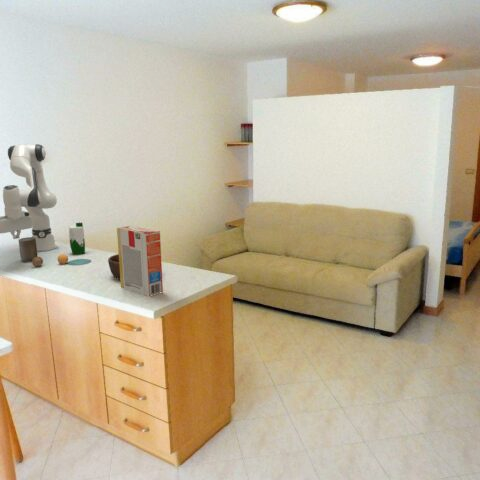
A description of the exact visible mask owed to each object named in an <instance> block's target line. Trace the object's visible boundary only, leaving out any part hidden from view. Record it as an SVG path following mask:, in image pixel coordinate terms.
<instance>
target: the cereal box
mask: <svg viewBox="0 0 480 480" xmlns="http://www.w3.org/2000/svg"><path fill="white" fill-rule="evenodd" d="M116 234H117V236H116V237H117V249H118V252H117V253H118V254H119V266H120V279H119V280H120V287H121V288H122V289H125V290H129V291H132V292H134V293H137V294H140V295H143V294H144V295H143V296H146V295H147V296H146V297H148V296H150V297H152V296H151V295H153V296H155V295H154V294H157V293H160V292H163V293H164V290H163V289H164V286H163V268H162V267H163V265H162V248H161V247H162V246H161V244H162V243H161V231H160V230H155V229H151V228H145V227H140V226H134V225H128V226H120V227H116ZM160 294H161V293H160ZM157 295H158V294H157Z"/></svg>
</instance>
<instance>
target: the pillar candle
mask: <svg viewBox="0 0 480 480" xmlns="http://www.w3.org/2000/svg"><path fill="white" fill-rule="evenodd" d="M18 247H19V253H20V261H21V262H22V263H32V259H33V258H34V257H37V256H38V257H39V255H38V251H37V246H36V238H34V237H32V236H31V237H29V236H28V237H27V236H26V237H22V238H21V237H20V238H18Z"/></svg>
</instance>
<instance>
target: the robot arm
mask: <svg viewBox="0 0 480 480" xmlns="http://www.w3.org/2000/svg"><path fill="white" fill-rule="evenodd" d="M46 154H47V153H46V149H45V147H44V146H43V145H41V144H38V143H37V144H29V143H26V144H17V145H11V146H9V148H8V149H7V157H8V159H9V167H10V169H11V171H12V172H13V174H15V175H16V176H18V177H22V178H25V182H26V184H27V185H28V186H29V187H30V188H29V189H19V186H18V185H14V184H12V185H5V186H4V187H3V190H2V200H3V204H4V215H3V216H0V234H6V233H10V234H11V236H12V239H13V240H17V239H18V240H19V239H21V237H20V236H21V233H22V231H24V230H29V229H31V234H32V236H31V237H34V238H36V246H37V252H45V251H50V250H53V249H58V248H59V245H57V244H56V240H55V236H54V235H53V234H52V229H51V228H52V227H51V223H50V217H49V215H48V214H46V213H45V212H44V210H43V209H46V210H48V209H53V208H54V207H55V206H56V205H57V202H58V201H57V200H58V199H57V196H56V195H55V193H53V192H51V190H50V189H49V187H48V185H47V183H46V179H45V175H44V170H43V165H42V162H43V161H44V160H45V159H46ZM23 207H24V209H26V211H24V210H23Z"/></svg>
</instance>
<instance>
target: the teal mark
mask: <svg viewBox="0 0 480 480" xmlns="http://www.w3.org/2000/svg"><path fill="white" fill-rule="evenodd" d="M91 262H92V259H88V258H79V259H72V260H68V262H67V263H66V265H68V266H82V265H87V264H90V263H91Z"/></svg>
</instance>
